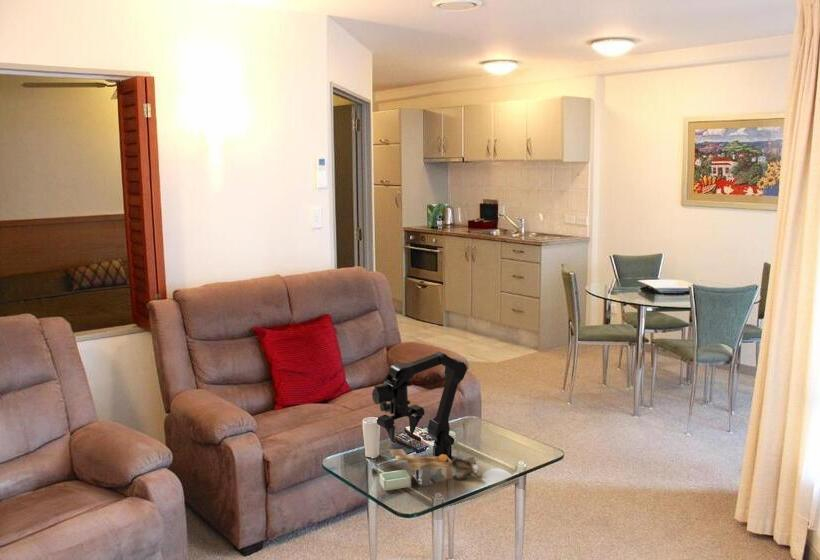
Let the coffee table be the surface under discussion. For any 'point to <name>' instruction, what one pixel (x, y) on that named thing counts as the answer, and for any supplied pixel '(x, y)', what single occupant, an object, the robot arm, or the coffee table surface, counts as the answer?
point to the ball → (442, 458)
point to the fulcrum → (424, 475)
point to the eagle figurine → (466, 466)
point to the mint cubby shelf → (395, 480)
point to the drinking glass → (371, 436)
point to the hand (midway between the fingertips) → (402, 437)
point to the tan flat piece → (420, 460)
